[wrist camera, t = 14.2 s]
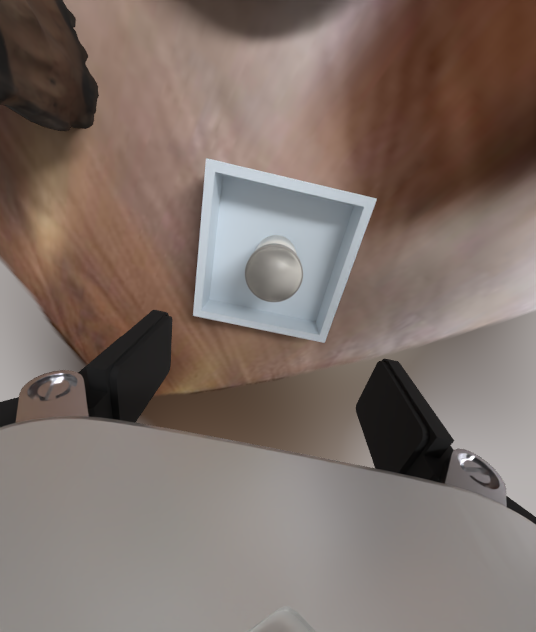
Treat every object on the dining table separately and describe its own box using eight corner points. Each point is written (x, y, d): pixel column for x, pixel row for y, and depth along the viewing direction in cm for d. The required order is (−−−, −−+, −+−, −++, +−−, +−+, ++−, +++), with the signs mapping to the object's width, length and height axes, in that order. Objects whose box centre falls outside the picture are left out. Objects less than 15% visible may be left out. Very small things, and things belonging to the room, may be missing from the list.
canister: (302, 239, 31) (310, 252, 23) (291, 281, 34) (294, 307, 26) (258, 229, 31) (250, 239, 23) (250, 272, 34) (240, 295, 25)
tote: (362, 199, 30) (376, 198, 25) (319, 325, 38) (324, 342, 33) (217, 164, 29) (206, 158, 25) (203, 301, 37) (192, 315, 32)
